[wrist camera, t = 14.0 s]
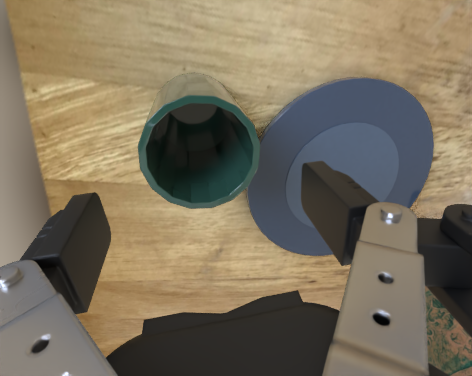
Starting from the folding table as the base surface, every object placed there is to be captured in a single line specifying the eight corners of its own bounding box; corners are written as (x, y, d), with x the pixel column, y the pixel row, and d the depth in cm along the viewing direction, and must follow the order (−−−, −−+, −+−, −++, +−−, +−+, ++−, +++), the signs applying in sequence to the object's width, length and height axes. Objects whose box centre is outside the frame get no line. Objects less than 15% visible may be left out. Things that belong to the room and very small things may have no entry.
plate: (213, 222, 28) (215, 230, 27) (309, 34, 22) (316, 34, 21) (353, 264, 34) (359, 272, 33) (461, 126, 28) (473, 130, 27)
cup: (142, 136, 24) (122, 188, 16) (170, 57, 21) (163, 72, 13) (215, 163, 26) (229, 221, 18) (247, 94, 23) (280, 126, 15)
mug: (412, 358, 47) (478, 452, 36) (377, 302, 38) (450, 403, 28) (480, 323, 45) (570, 411, 35) (459, 257, 37) (568, 346, 26)
